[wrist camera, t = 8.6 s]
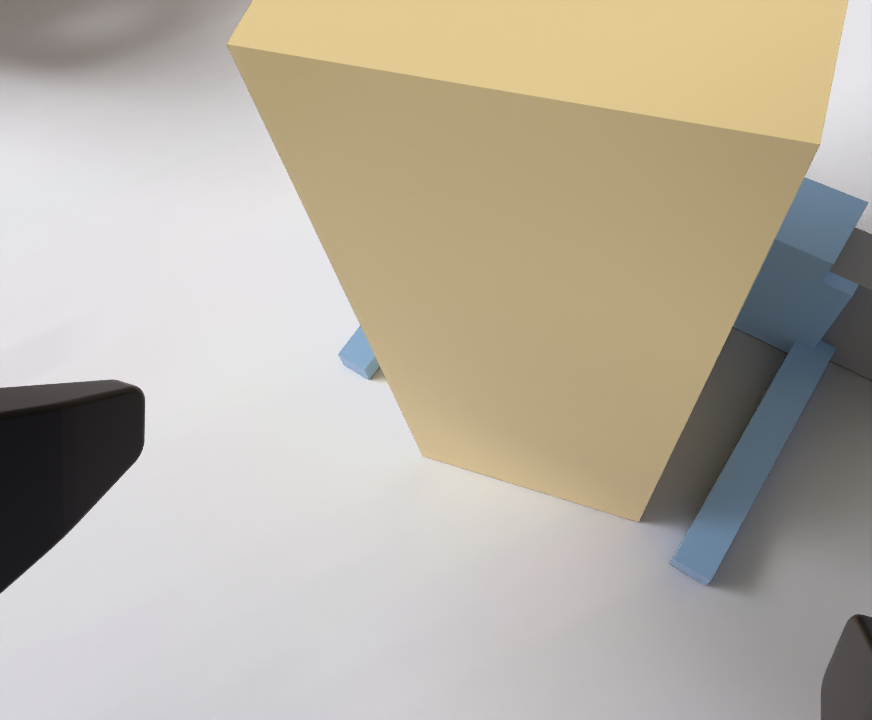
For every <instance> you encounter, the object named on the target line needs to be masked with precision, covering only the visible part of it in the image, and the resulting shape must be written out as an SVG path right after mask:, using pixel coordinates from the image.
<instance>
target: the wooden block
mask: <svg viewBox="0 0 872 720" xmlns="http://www.w3.org/2000/svg"><path fill="white" fill-rule="evenodd" d="M847 4H848V0H253V1H252V2H251V4H250V6H249V7H248V9H247V11H246V12H245V14H244V16H243V17H242V19H241V21H240V22H239V24H238V26H237V27H236V29H235V31H234V32H233V34H232V36H231V37H230V39H229V41H228V42H227V46H228V49H229V51H230V53H231V55H232V57H233V59H234V61H235V63H236V65H237V67H238V70H239V72H240V74H241V76H242V78H243V80H244V82H245V84H246V86H247V88H248V91H249V93H250V95H251V97H252V99H253V101H254V103H255V105H256V107H257V109H258V112H259V114H260V116H261V118H262V120H263V122H264V124H265V126H266V128H267V130H268V133H269V135H270V137H271V139H272V141H273V143H274V145H275V147H276V149H277V151H278V154H279V156H280V158H281V160H282V162H283V164H284V166H285V168H286V170H287V172H288V175H289V177H290V179H291V181H292V183H293V185H294V187H295V189H296V191H297V193H298V195H299V198H300V200H301V202H302V204H303V206H304V208H305V210H306V212H307V214H308V216H309V219H310V221H311V223H312V225H313V227H314V229H315V231H316V233H317V235H318V237H319V240H320V242H321V244H322V246H323V248H324V250H325V252H326V254H327V256H328V258H329V261H330V263H331V265H332V267H333V269H334V271H335V273H336V275H337V277H338V279H339V282H340V284H341V286H342V288H343V290H344V292H345V294H346V296H347V298H348V300H349V303H350V305H351V307H352V309H353V311H354V313H355V315H356V317H357V319H358V321H359V324H360V326H361V328H362V330H363V332H364V334H365V336H366V338H367V340H368V342H369V345H370V347H371V349H372V351H373V353H374V355H375V357H376V359H377V361H378V363H379V366H380V368H381V370H382V372H383V374H384V376H385V378H386V380H387V382H388V384H389V386H390V389H391V391H392V393H393V395H394V397H395V399H396V401H397V403H398V405H399V407H400V410H401V412H402V414H403V416H404V418H405V420H406V422H407V424H408V426H409V428H410V431H411V433H412V435H413V437H414V439H415V441H416V443H417V445H418V447H419V449H420V452H421V454H422V456H424V457H427V458H430V459H434V460H437V461H440V462H444V463H447V464H450V465H453V466H457V467H460V468H463V469H466V470H470V471H473V472H476V473H479V474H483V475H486V476H489V477H493V478H496V479H499V480H502V481H506V482H509V483H512V484H515V485H519V486H522V487H525V488H528V489H532V490H535V491H538V492H542V493H545V494H548V495H551V496H555V497H558V498H561V499H564V500H568V501H571V502H574V503H577V504H581V505H584V506H587V507H591V508H594V509H597V510H600V511H604V512H607V513H610V514H613V515H617V516H620V517H623V518H626V519H630V520H633V521H636V522H639V520H640V518H641V516H642V514H643V512H644V510H645V508H646V506H647V504H648V502H649V500H650V497H651V495H652V493H653V491H654V489H655V487H656V485H657V483H658V481H659V479H660V477H661V475H662V472H663V470H664V468H665V466H666V464H667V462H668V460H669V458H670V456H671V454H672V452H673V450H674V448H675V445H676V443H677V441H678V439H679V437H680V435H681V433H682V431H683V429H684V427H685V425H686V423H687V420H688V418H689V416H690V414H691V412H692V410H693V408H694V406H695V404H696V402H697V400H698V398H699V395H700V393H701V391H702V389H703V387H704V385H705V383H706V381H707V379H708V377H709V375H710V373H711V370H712V368H713V366H714V364H715V362H716V360H717V358H718V356H719V354H720V352H721V350H722V348H723V346H724V343H725V341H726V339H727V337H728V335H729V333H730V331H731V329H732V327H733V325H734V323H735V321H736V318H737V316H738V314H739V312H740V310H741V308H742V306H743V304H744V302H745V300H746V298H747V296H748V293H749V291H750V289H751V287H752V285H753V283H754V281H755V279H756V277H757V275H758V273H759V271H760V268H761V266H762V264H763V262H764V260H765V258H766V256H767V254H768V252H769V250H770V248H771V246H772V244H773V241H774V239H775V237H776V235H777V233H778V231H779V229H780V227H781V225H782V223H783V221H784V219H785V216H786V214H787V212H788V210H789V208H790V206H791V204H792V202H793V200H794V198H795V196H796V194H797V191H798V189H799V187H800V185H801V183H802V181H803V179H804V177H805V175H806V173H807V171H808V169H809V166H810V164H811V162H812V160H813V158H814V156H815V154H816V152H817V150H818V148H819V146H820V142H821V137H822V132H823V127H824V122H825V117H826V112H827V107H828V101H829V96H830V91H831V86H832V81H833V76H834V71H835V66H836V61H837V55H838V50H839V45H840V40H841V35H842V30H843V25H844V20H845V15H846V9H847Z"/></svg>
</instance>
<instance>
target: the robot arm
mask: <svg viewBox="0 0 872 720" xmlns="http://www.w3.org/2000/svg"><path fill="white" fill-rule="evenodd" d="M144 434H145V396H144V393H143V391H142V390H141V389H140V388H139V387H137V386H134V385H131V384H128V383H125V382H122V381H118V380H99V381H86V382H73V383H59V384H46V385H32V386H19V387H6V388H0V594H1V593H2V592H3V591H4V590H5V589H6V588H7V587H9V586H10V585H11V584H12V583H13V582H14V581H15V580H17V579H18V578H19V577H20V576H21V575H22V574H23V573H24V572H26V571H27V570H28V569H29V568H30V567H31V566H32V565H34V564H35V563H36V562H37V561H38V560H39V559H40V558H42V557H43V556H44V555H45V554H46V553H47V552H48V551H49V550H51V549H52V548H53V547H54V546H55V545H56V544H57V543H58V542H59V541H60V540H61V539H62V538H64V537H65V536H66V535H67V534H68V533H69V532H70V531H71V530H72V528H73V527H74V526H75V525H76V524H77V523H78V522H79V521H80V520H81V519H82V518H83V517H84V516H85V515H86V514H87V513H88V512H89V511H90V510H91V508H92V507H93V506H94V505H95V504H96V503H97V502H98V501H99V500H100V499H101V498H102V497H103V496H104V495H105V494H106V492H107V491H108V490H109V489H110V488H111V487H112V486H113V485H114V484H115V483H116V482H117V481H118V480H119V479H120V478H121V476H122V475H123V474H124V473H125V472H126V471H127V470H128V469H129V468H130V467H131V466H132V465H133V464H134V463H135V462H136V460H137V459H138V458H139V456H140V454H141V452H142V450H143V446H144ZM821 720H872V617H868V616H865V615H860V614H857V615H854V616H852V617H851V618H850V619H849V620H848V622H847V623H846V625H845V628H844V630H843V632H842V635H841V637H840V639H839V641H838V644H837V646H836V648H835V651H834V653H833V655H832V658H831V660H830V662H829V664H828V667H827V669H826V672H825V674H824V678H823V682H822V688H821Z"/></svg>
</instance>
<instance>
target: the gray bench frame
mask: <svg viewBox="0 0 872 720" xmlns="http://www.w3.org/2000/svg"><path fill="white" fill-rule="evenodd" d="M867 204H868V202H865V201H863V200H860V199H858V198H855V197H853V196H850V195H848V194H845V193H843V192H840V191H838V190H835V189H833V188H830V187H828V186H825V185H823V184H820V183H818V182H815V181H813V180H810V179H807V178H805V177H804V179H803V181H802V183H801V185H800V187H799V189H798V191H797V194H796V196H795V198H794V200H793V202H792V204H791V206H790V208H789V210H788V212H787V214H786V216H785V219H784V221H783V223H782V225H781V227H780V229H779V231H778V233H777V235H776V237H775V239H774V241H773V244H772V246H771V248H770V250H769V252H768V254H767V256H766V258H765V260H764V262H763V264H762V266H761V268H760V271H759V273H758V275H757V277H756V279H755V281H754V283H753V285H752V287H751V289H750V291H749V293H748V296H747V298H746V300H745V302H744V304H743V306H742V308H741V310H740V312H739V314H738V316H737V318H736V321H735V323H734V325H733V327H734V328H737V329H739V330H741V331H743V332H745V333H747V334H749V335H751V336H753V337H755V338H757V339H759V340H761V341H764V342H766V343H768V344H770V345H772V346H774V347H776V348H778V349H780V350H782V351H784V352H786V353H787V355H786V357H785V359H784V361H783V362H782V364H781V366H780V368H779V369H778V371H777V373H776V375H775V377H774V378H773V380H772V382H771V384H770V386H769V387H768V389H767V391H766V393H765V394H764V396H763V398H762V400H761V402H760V403H759V405H758V407H757V409H756V410H755V412H754V414H753V416H752V418H751V419H750V421H749V423H748V425H747V426H746V428H745V430H744V432H743V434H742V435H741V437H740V439H739V441H738V442H737V444H736V446H735V448H734V450H733V451H732V453H731V455H730V457H729V458H728V460H727V462H726V464H725V466H724V467H723V469H722V471H721V473H720V474H719V476H718V478H717V480H716V482H715V483H714V485H713V487H712V489H711V491H710V492H709V494H708V496H707V498H706V499H705V501H704V503H703V505H702V507H701V508H700V510H699V512H698V514H697V515H696V517H695V519H694V521H693V523H692V524H691V526H690V528H689V530H688V531H687V533H686V535H685V537H684V539H683V540H682V542H681V544H680V546H679V547H678V549H677V551H676V553H675V555H674V556H673V558H672V560H671V562H670V563H669V564H671V565H672V566H674V567H676V568H677V569H679V570H680V571H682V572H684V573H685V574H687V575H689V576H690V577H692V578H694V579H695V580H697V581H698V582H700V583H702V584H703V585H706V584H708V583H709V582H710V581H711V580H712V578H713V576H714V574H715V572H716V570H717V569H718V567H719V565H720V563H721V561H722V559H723V558H724V556H725V554H726V552H727V550H728V548H729V546H730V545H731V543H732V541H733V539H734V537H735V535H736V533H737V532H738V530H739V528H740V526H741V524H742V522H743V520H744V519H745V517H746V515H747V513H748V511H749V509H750V507H751V506H752V504H753V502H754V500H755V498H756V496H757V495H758V493H759V491H760V489H761V487H762V485H763V483H764V482H765V480H766V478H767V476H768V474H769V472H770V470H771V469H772V467H773V465H774V463H775V461H776V459H777V457H778V456H779V454H780V452H781V450H782V448H783V446H784V444H785V443H786V441H787V439H788V437H789V435H790V433H791V432H792V430H793V428H794V426H795V424H796V422H797V420H798V419H799V417H800V415H801V413H802V411H803V409H804V407H805V406H806V404H807V402H808V400H809V398H810V396H811V394H812V393H813V391H814V389H815V387H816V385H817V383H818V381H819V380H820V378H821V376H822V374H823V372H824V370H825V369H826V367H827V365H828V363H829V361H832V362H834V363H836V364H838V365H841V366H843V367H845V368H847V369H849V370H851V371H853V372H855V373H857V374H859V375H862V376H864V377H866V378H868V379H870V380H872V234H869V233H867V232H865V231H862V230H860V229H857V228H855V226H856V224H857V222H858V220H859V218H860V217H861V215H862V213H863V211H864V210H865V208H866V206H867ZM338 355H339V357H340V359H341V360H342V362H343V364H344V365H345V366H347V367H348V368H350V369H352V370H353V371H355V372H357V373H358V374H360V375H362V376H363V377H365V378H366V379H368V380H370V379H371V377H372V376H373V375H374V373H375V372H376V371H377V369H378V368H379V367H380V366H379V363H378V361H377V359H376V357H375V355H374V353H373V351H372V349H371V347H370V345H369V342H368V340H367V338H366V336H365V334H364V332H363V330H362V328H361V326H360V327H359V328H358V329H357V331H356V332H355V333H354V335H353V336H352V337H351V338H350V340H349V341H348V342H347V344H346V345H345V346H344V347H343V349H342V350H341V351H340V353H339V354H338Z"/></svg>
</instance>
